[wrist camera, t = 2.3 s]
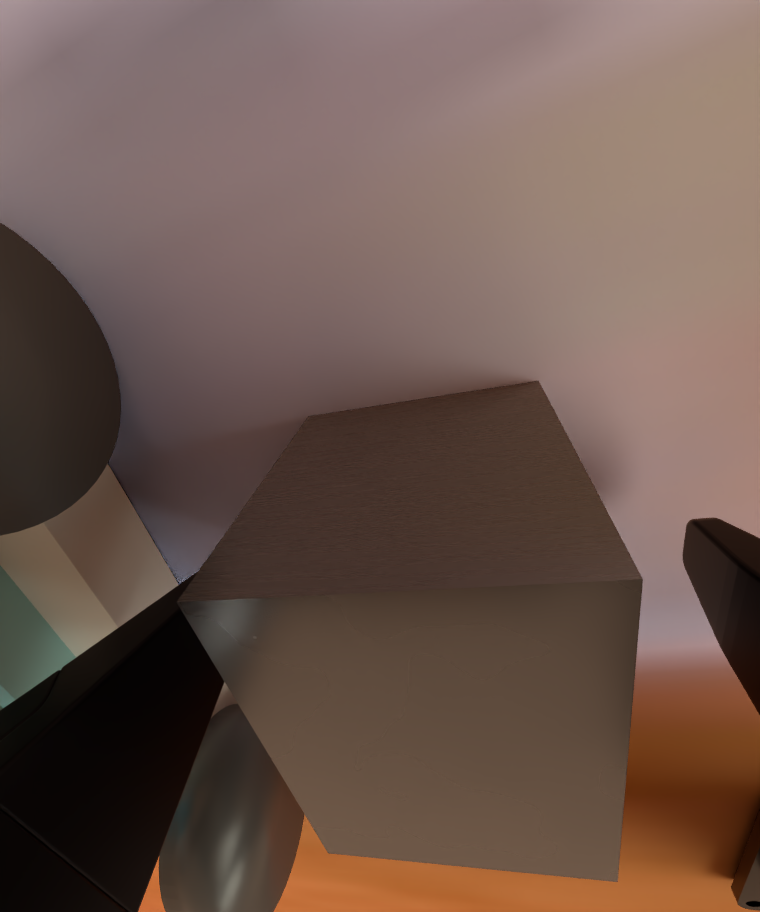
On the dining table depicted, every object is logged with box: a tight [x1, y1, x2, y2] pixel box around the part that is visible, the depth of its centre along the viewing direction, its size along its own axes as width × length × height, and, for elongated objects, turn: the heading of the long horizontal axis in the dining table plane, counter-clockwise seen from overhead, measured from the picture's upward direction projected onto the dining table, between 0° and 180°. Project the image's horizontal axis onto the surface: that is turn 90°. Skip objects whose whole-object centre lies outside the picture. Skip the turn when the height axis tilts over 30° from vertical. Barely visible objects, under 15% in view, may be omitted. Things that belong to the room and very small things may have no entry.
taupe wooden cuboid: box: [177, 381, 643, 882], centre depth 8 cm, size 6×4×5 cm
